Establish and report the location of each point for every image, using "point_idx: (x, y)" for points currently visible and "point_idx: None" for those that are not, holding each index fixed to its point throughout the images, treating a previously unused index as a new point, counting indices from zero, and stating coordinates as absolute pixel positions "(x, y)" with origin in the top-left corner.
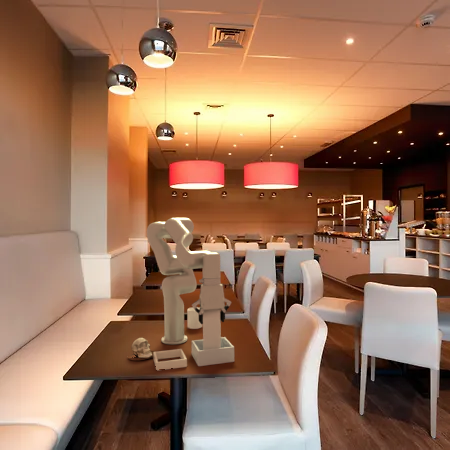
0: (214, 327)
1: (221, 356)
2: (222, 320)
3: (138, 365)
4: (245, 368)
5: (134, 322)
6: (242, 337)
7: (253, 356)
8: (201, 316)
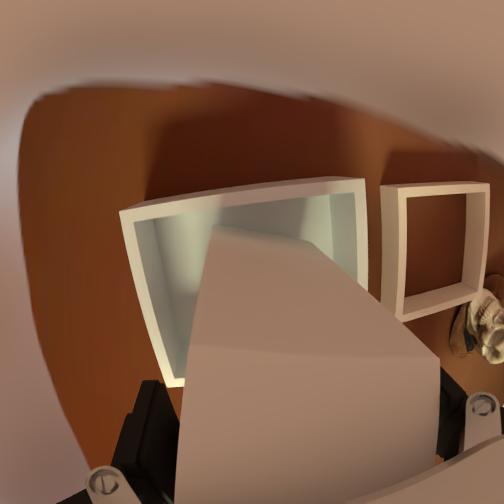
0: (268, 290)
1: (210, 192)
2: (158, 393)
3: (500, 241)
4: (109, 113)
5: None
6: (107, 439)
7: (56, 250)
8: (453, 381)
